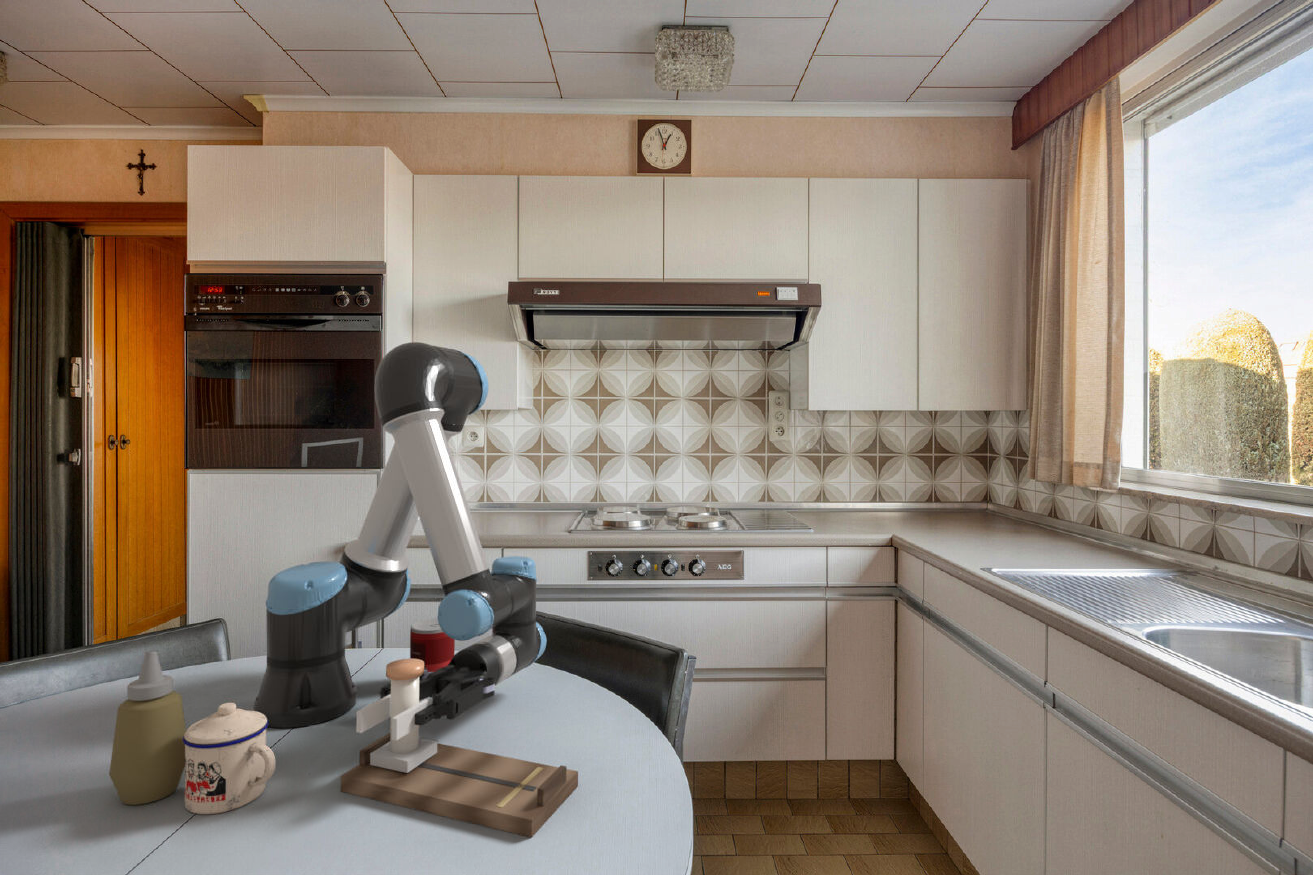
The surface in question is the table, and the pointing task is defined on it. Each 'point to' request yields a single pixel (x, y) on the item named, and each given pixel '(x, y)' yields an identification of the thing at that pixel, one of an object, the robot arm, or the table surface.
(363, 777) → the fader track
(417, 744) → the fader
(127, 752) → the squeeze bottle
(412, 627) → the canned food
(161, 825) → the table surface
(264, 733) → the teacup with lid
